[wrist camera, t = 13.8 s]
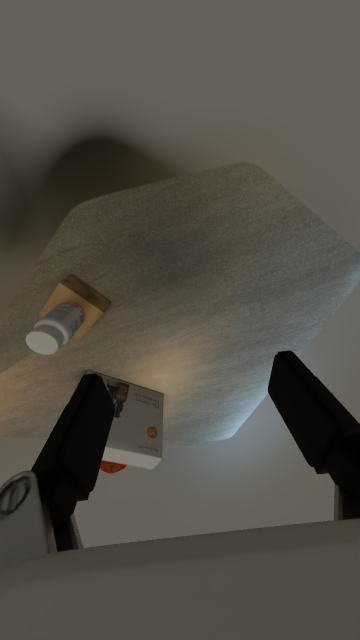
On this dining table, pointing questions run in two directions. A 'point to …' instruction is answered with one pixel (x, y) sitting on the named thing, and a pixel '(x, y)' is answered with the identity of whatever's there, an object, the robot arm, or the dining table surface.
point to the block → (78, 302)
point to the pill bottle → (55, 328)
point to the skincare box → (134, 424)
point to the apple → (111, 466)
